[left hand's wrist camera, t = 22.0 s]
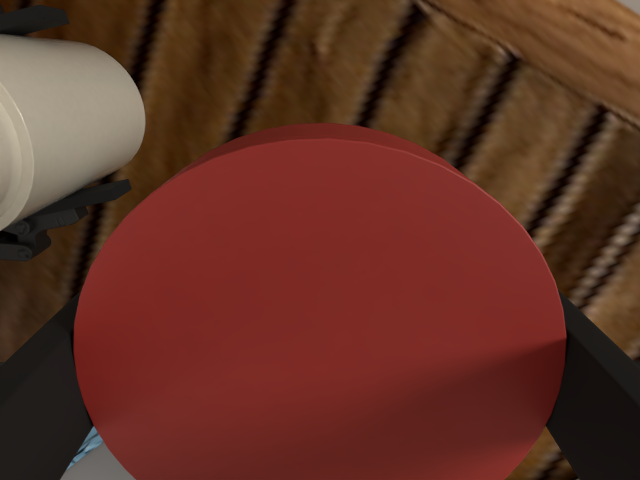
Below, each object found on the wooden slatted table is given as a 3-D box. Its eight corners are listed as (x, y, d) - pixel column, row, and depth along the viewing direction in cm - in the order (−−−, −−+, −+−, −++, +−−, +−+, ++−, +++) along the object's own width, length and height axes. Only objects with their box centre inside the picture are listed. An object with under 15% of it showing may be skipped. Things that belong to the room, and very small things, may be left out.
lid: (168, 486, 15) (141, 561, 12) (64, 147, 11) (-4, 169, 8) (510, 460, 14) (545, 534, 12) (536, 98, 10) (597, 108, 8)
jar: (90, 13, 33) (-129, -37, 17) (171, 139, 36) (53, 198, 20) (-17, 83, 34) (-307, 98, 18) (70, 197, 38) (-113, 294, 22)
